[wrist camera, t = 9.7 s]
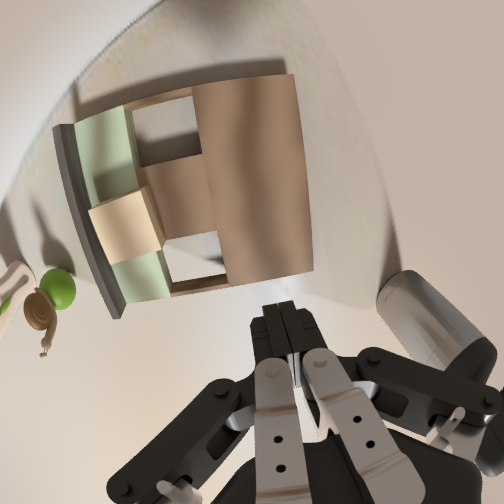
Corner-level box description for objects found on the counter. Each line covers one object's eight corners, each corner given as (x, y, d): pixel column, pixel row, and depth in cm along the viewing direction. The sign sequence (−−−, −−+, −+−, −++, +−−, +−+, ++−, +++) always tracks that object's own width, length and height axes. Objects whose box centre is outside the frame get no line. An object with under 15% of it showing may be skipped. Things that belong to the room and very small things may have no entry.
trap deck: (287, 78, 24) (302, 67, 19) (307, 261, 34) (322, 283, 29) (77, 126, 23) (52, 127, 18) (125, 294, 33) (113, 319, 28)
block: (148, 184, 25) (140, 190, 22) (166, 238, 28) (161, 249, 25) (99, 203, 25) (87, 210, 22) (119, 252, 28) (110, 264, 25)
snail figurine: (66, 305, 32) (32, 360, 21) (45, 268, 30) (0, 317, 19) (92, 296, 32) (57, 355, 21) (69, 256, 29) (22, 308, 19)
